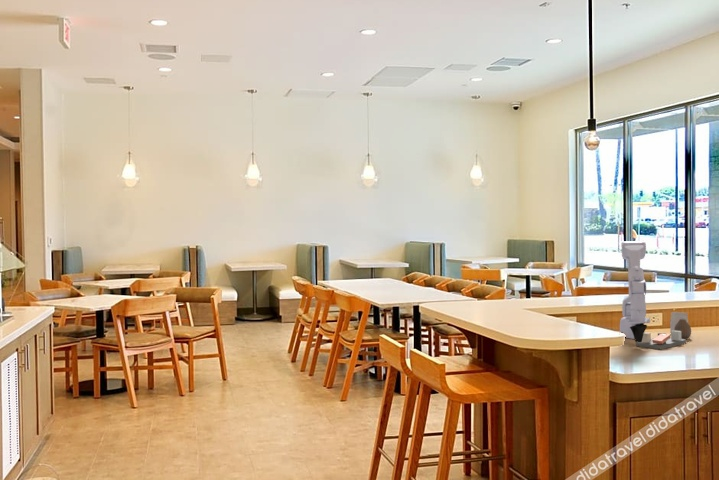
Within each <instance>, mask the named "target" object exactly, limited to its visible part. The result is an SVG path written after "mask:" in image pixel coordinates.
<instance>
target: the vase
mask: <svg viewBox="0 0 719 480" xmlns="http://www.w3.org/2000/svg"><path fill="white" fill-rule="evenodd" d="M674 330H676V331H681V336H682V339H685V340H689V338H690V337H691V335H692V328H691V325H690V324H689V322H688V323H687V321H686V319H679V321H678V322H677V324H676V325H675V327H674Z"/></svg>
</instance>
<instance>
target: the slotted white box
mask: <svg viewBox="0 0 719 480" xmlns="http://www.w3.org/2000/svg"><path fill="white" fill-rule="evenodd" d="M670 337H671V340H677V341H679V340H682V336H681V331H676V330H673V331H671V334H670Z"/></svg>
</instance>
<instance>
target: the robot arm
mask: <svg viewBox="0 0 719 480" xmlns="http://www.w3.org/2000/svg"><path fill="white" fill-rule="evenodd" d="M646 254H647V244H646V241H644V240H642V241H641V240H639V241H636V240H635V241H629V240H628V241H622V242H621V257H622V259H623V260H626V261H627V265H628V267H627V269H628V270H627V272H628V273H627V274H628V277H627V278H628V295H627V296H626V297H624V299H623V300H622V304H621V306H622V307H621V308H622V309H621V310H622V311H621V312H622V313H621V314H622V316H623V317H621V318H620V321H619V333H620V332H621V333H624V334H625V335H626V338H625V339H631V340H634V342H635V343H636V342H642V338H643V334H644V332H645V331H646V329H647V328H648V325H647V324H650V323H651V318H650V317H649V318H648V317H646V315H647V305H646V294H647V282H646V279H645V275H644V269H643V268H642V267H641V260H642V259H643V260H644V259H645V257H646Z"/></svg>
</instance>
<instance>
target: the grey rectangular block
mask: <svg viewBox="0 0 719 480" xmlns="http://www.w3.org/2000/svg"><path fill="white" fill-rule="evenodd" d="M679 319H686V321H687V323H688V324H689V317H688V312H681V311H680V312H678V311H671V314H670V321H669V324H670V332H669V333H671V331H673V330H674V327H675V325H676V324H677V322H678V321H679Z"/></svg>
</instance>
